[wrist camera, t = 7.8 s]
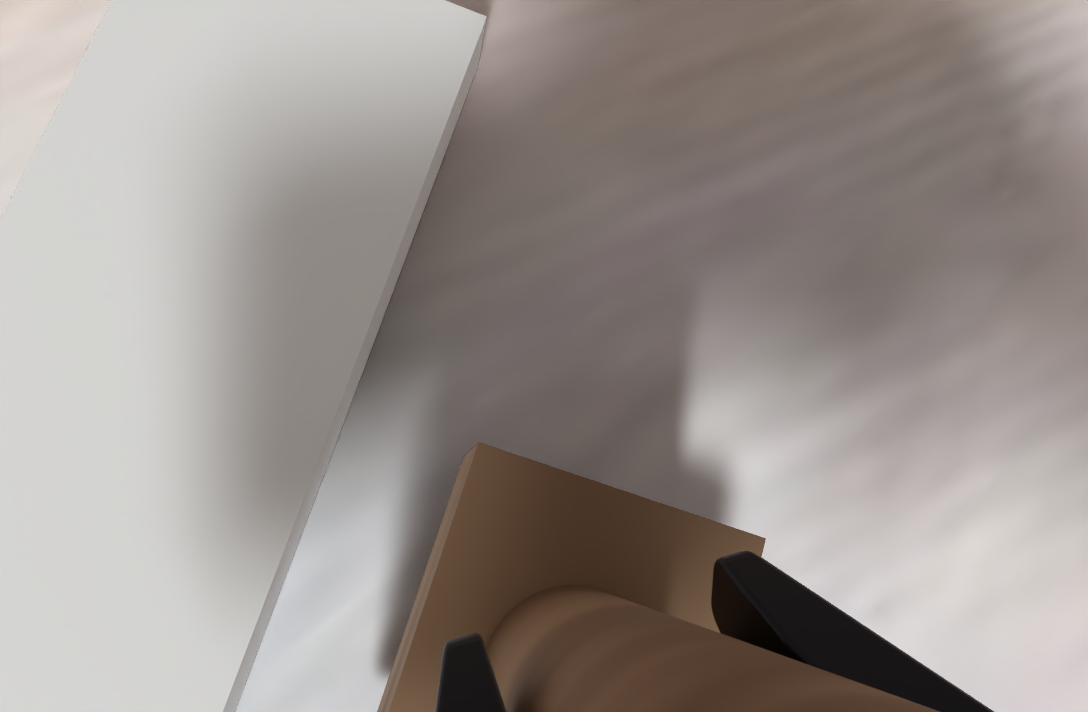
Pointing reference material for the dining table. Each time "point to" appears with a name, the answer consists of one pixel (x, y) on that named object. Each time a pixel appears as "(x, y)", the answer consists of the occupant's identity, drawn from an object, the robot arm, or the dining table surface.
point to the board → (199, 325)
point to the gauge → (593, 605)
